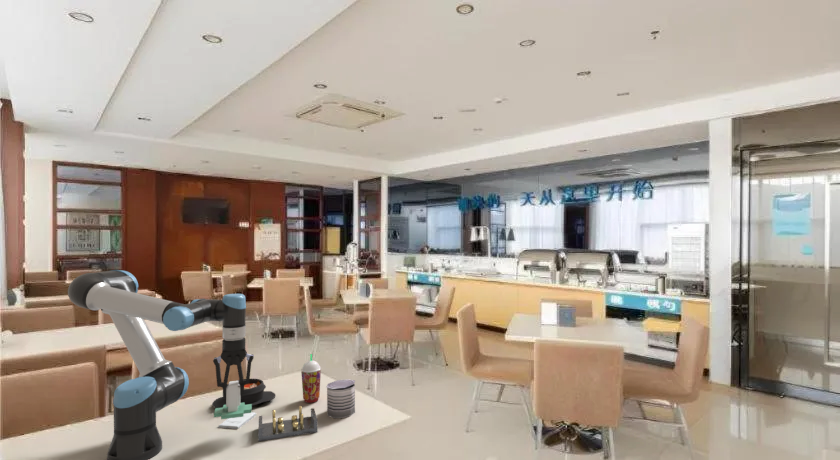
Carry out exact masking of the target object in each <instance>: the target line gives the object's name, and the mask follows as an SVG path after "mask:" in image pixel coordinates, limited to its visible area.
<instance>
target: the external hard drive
mask: <svg viewBox="0 0 840 460" xmlns="http://www.w3.org/2000/svg"><path fill="white" fill-rule="evenodd" d="M256 416H257V412H255V411H251V413H245V414H244V415H243V417H236V418H228V419H225V420H224V421H222V422H221V423H220V424H218V426H217V428H218V429H219V428H220V429H233V430H240V428H242V427H243V426H244V425H246V424H247V423H248V422H249V421H251V420H252V419H254V418H255V417H256Z"/></svg>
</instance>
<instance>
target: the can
mask: <svg viewBox="0 0 840 460" xmlns="http://www.w3.org/2000/svg"><path fill="white" fill-rule="evenodd" d="M355 383H356V380H354V379H349V378H346V379H337V380H334V381H332V382H329V383H327V384H326V390H327V391H326V406H327V407H326V409H327V410H326V413H327V417H330V418H333V419H344V418H349V417H351V416H353V414H355V413H356V385H355Z"/></svg>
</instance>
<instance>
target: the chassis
mask: <svg viewBox="0 0 840 460" xmlns="http://www.w3.org/2000/svg"><path fill="white" fill-rule="evenodd" d="M302 409H303V407H302V406H301V405H299V406H298V415H291V419H284V417H283V416H281V417H280V416H279V417H277V418H276V410H275V409H273V410H272V411H271V412H272V421H271V422H265V423H263V415H259V416H258V442H264V441H271V440H277V439H283V438H288V437H289V438H290V437H295V436H302V435H307V434H314V433H318V417H317V414H316V411H315V408H314V407H313V408H311V409H310V416H306V417H304V413H302V412H303V411H302Z"/></svg>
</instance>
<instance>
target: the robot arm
mask: <svg viewBox="0 0 840 460" xmlns="http://www.w3.org/2000/svg"><path fill="white" fill-rule="evenodd" d="M138 291H139V283H138V280H137V278H136V277H135V275H134V274H132V273H131V272H129V271H127V270H121V269H120V270H119V269H112V270H105V271H96V272H87V273H83V274H80V275H78V276H76V277H75V278H74V279H72V281H71V282H70V283H69V286H68V289H67V295H68V299H69V301H70V302H71V303H73V304H74V305H75V306H77V307H79V308H83V309H86V310H91V311H99V310H100V311H101V313H103V314H106V315H108V316H110V318H111V320H112V323H113V324H114V326H115V328H116V330H117V332H118V334H119V336H120V338H121V340H122V341H123V343H124V346H125V347H126V349H127V351H128V353H129V355H130V357H131V358H132V360H133V362H134V364H135V366H136V368H137V370H138V372H139V374H138V377H135V378H133V379H132V378H131V379H128V380H126V381H124V382H123V383H120V384H119V385H118V386H117V387H116V388H115V390H114V392H113V393H114V394H113V399H112V404H113V435H112V439H111V442H110V444H109V448H108V450H107V452H106V453H107V454H106V455H107V456H106V460H149V459H151V458H153V457H155V456H156V455H158V454H159V453H160V452H161V451H162V449H163V440H162V439H163V438H162V436H161V434H160V432H159V430H158V427H157V412H159V411H162V410H163V409H164V408H166V407H168V406H170V405H172V404H174V403H175V402H178V401H179V400H180V399H182V398H183V397H184V395H186V393H187V391H188V388H189V386H190V385H189V382H190V380H189V376H188V373H187V372H186V371H185V369H183V368H180V367H177V366H175V365H174V363H173V361H172V360H168V359H165V356H164V355H163V353H162V351H161V349H160V347H159V345H158V343H157V341H156V340H155V337H154V335H153V334H152V332H151V330H150V328H149V326H148V324H147V322H146V321H148V322H154V323H159V324H162V325H164V327H165V328H166V329H168V330H169V331H172V332H177V331H183V330H186V329H189V328H191V327H194V326H197V325H200V324H203V323H206V322H222V337H221V338H222V339H223V340H222V342H221V343H222V344H221V348H222V349H221V351H222V352H220V353H221V354H220V355H219V356H217V357H214V358H213V360H212V361H213V364H214V365H215V366H214V367H215V374H216V375H215V376H216V377H215V378H216V386H217V388H222V397H226V407H228V386H227V384H228V383H229V382H228V381H229V376H230V375H229V374H230V370H231V366H236V369H237V374H238V380H239V381H240V385H238V406H240V397H241V395H243V394H244V385H245V384H248V383H249V380H250V379H251V378H250V377H251V371H252V369H251V368H252V362H253V360H254V354H252V353H251V354H249V353H248V352H247V350H246V338H245V337H246V336H247V335H246V331H247V330H246V329H247V328H246V327H247V326H246V318H247V317H246V311H247V305H246V303H247V302H246V300H247V299H246V295H244V294H243V293H228V294H224V295H223V296H222V298H221V299H211V298H209V299H208V298H207V299H206V298H200V299H196V298H195V299H193V300H192V301H191V302H190V303H187V304H186V303H185V304H184V303H180V302H176V301H172V300H167V299H164V298H159V297H154V296H150V295H147V294H143V293H142V294H141V293H138ZM245 358H246V362H247V365H246V376H245V378H244V372H243V366H242V362H243V360H245ZM222 360H223V362H224V363H225V372H224V377H223V381H222V374H221V373H222V372H221V362H222ZM244 379H246V380H244Z"/></svg>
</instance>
